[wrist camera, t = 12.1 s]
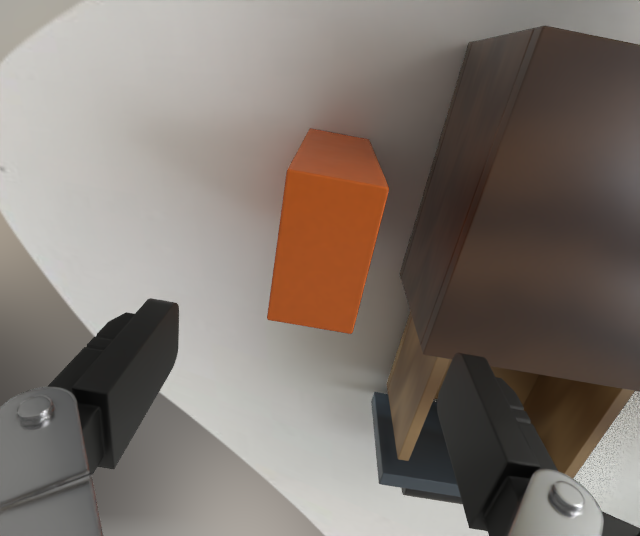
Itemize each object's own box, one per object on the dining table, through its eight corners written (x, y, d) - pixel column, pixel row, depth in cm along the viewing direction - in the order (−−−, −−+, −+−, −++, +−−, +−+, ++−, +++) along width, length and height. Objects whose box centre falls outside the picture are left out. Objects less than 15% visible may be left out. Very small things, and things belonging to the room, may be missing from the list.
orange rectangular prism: (348, 237, 29) (352, 334, 18) (294, 227, 29) (266, 320, 18) (369, 139, 26) (390, 187, 15) (309, 127, 26) (287, 168, 15)
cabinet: (583, 307, 31) (678, 398, 22) (399, 274, 30) (422, 355, 22) (705, 89, 24) (911, 99, 15) (468, 42, 23) (543, 25, 15)
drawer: (500, 458, 37) (537, 547, 30) (360, 435, 37) (365, 520, 30) (597, 285, 29) (679, 354, 22) (417, 253, 28) (442, 313, 21)
